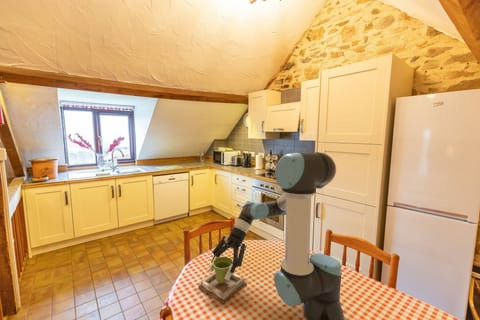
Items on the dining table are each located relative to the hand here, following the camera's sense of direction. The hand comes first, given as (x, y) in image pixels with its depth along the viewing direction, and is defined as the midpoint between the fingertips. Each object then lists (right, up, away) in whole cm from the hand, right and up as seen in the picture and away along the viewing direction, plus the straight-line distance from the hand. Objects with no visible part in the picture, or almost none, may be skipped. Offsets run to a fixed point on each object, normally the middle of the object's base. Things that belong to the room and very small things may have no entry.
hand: (218, 275), depth 102 cm
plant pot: (+2, -4, +3) cm, 5 cm away
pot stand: (+2, -7, +3) cm, 8 cm away
